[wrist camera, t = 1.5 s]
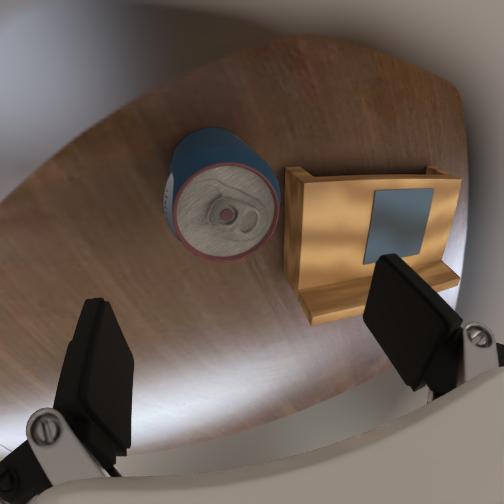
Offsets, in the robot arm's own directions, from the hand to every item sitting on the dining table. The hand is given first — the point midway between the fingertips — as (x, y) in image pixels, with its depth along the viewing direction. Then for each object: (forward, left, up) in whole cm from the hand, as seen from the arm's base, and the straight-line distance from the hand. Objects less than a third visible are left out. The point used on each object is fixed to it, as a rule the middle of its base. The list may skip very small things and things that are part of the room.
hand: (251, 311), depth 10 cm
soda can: (0, 0, -19) cm, 19 cm away
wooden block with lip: (+7, +17, -19) cm, 27 cm away
